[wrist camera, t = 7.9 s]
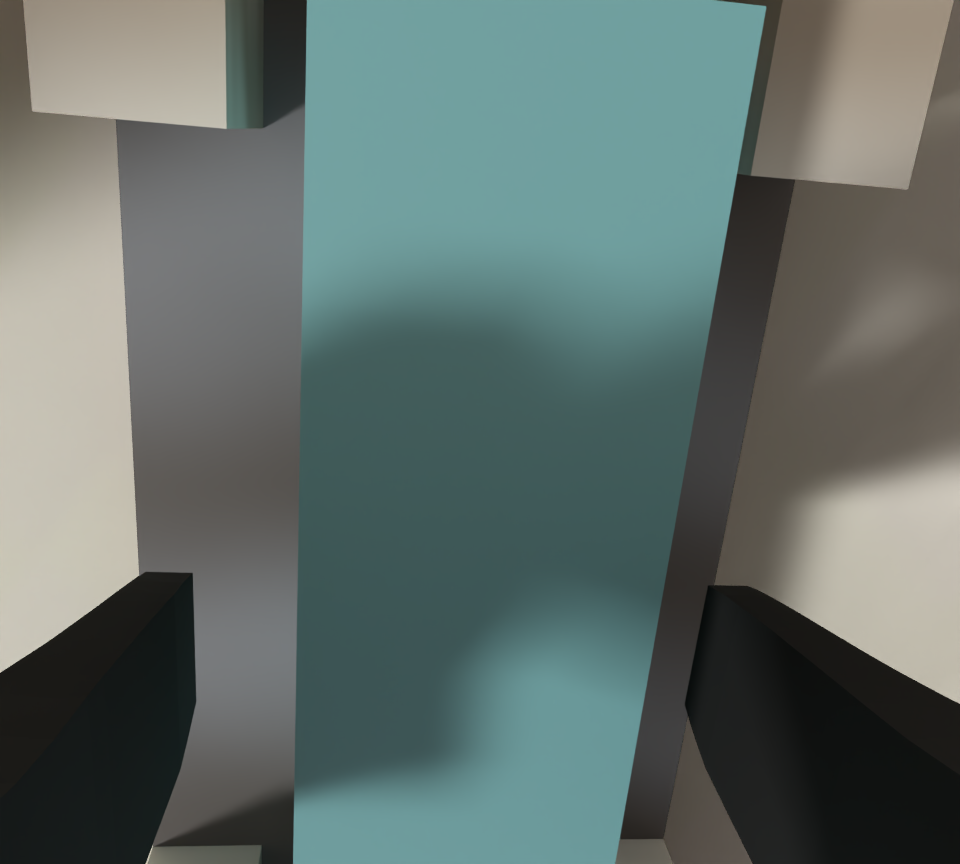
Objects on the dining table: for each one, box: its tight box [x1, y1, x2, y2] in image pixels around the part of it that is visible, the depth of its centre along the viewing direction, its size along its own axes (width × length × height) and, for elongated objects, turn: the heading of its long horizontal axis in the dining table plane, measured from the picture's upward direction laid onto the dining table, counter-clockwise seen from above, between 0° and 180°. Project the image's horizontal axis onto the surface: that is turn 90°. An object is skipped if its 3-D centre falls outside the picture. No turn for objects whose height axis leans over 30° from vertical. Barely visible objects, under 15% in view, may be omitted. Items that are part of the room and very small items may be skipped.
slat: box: [293, 0, 766, 864], centre depth 12 cm, size 16×4×5 cm, turn 175°
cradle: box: [23, 0, 954, 864], centre depth 14 cm, size 22×10×4 cm, turn 175°
